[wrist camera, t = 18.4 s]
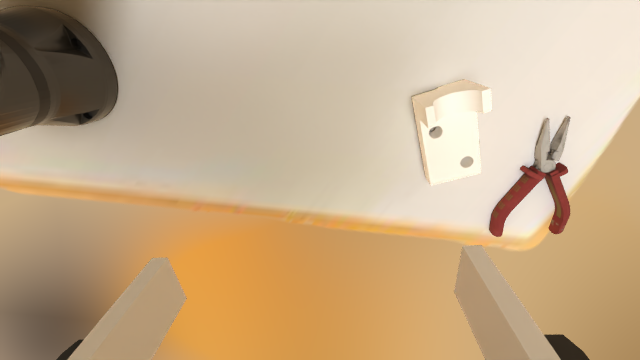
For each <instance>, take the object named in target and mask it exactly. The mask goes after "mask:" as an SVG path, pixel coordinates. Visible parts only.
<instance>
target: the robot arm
mask: <svg viewBox="0 0 640 360" xmlns="http://www.w3.org/2000/svg"><path fill="white" fill-rule="evenodd" d="M116 98H117V79H116V75H115V71H114V68H113V66H112V63H111V61H110V59H109V57H108V55H107V53H106V52H105V50H104V49H103V47H102V46H101V44H100V43H99V42H98V40H97V39H96V38H95V37H94V36H93V35H92V34H91V33H90V32H89V31H88V30H87V29H86V28H85V27H84V26H82V25H81V24H80V23H79V22H77V21H76V20H74V19H73V18H71V17H69V16H67V15H66V14H63V13H61V12H59V11H56V10H53V9H49V8H43V7H33V6H15V7H10V8H7V9H3V10H0V136H2V135H5V134H8V133H11V132H15V131H18V130H21V129H24V128H27V127H31V126H34V125H57V126H78V125H84V124H88V123H91V122H94V121H97V120H99V119H101V118H103V117H105V116H106V115H107V114H108V113H109V112H110V111H111V110H112V108H113V106H114V104H115V102H116ZM454 292H455V295H456V297H457V299H458V301H459V303H460V305H461V308H462V310H463V312H464V314H465V316H466V319H467V321H468V323H469V325H470V327H471V329H472V332H473V334H474V336H475V338H476V340H477V343H478V345H479V347H480V349H481V351H482V353H483V356H484V358H485V360H589V358H588V357H587V356H586V355H585V353H584V352H583V351H582V350H581V349H580V348H578V347H577V346H576V345H575V344H574V343H572V342H571V341H570V340H569V339H568V338H566V337H565V336H564V335H543V333H542V332H541V330H540V329H539V327H538V326H537V324H536V323H535V322H534V320H533V319H532V318H531V316H530V314H529V313H528V312H527V310H526V309H525V307H524V306H523V304H522V303H521V301H520V300H519V299H518V297H517V296H516V294H515V293H514V291H513V290H512V289H511V287H510V286H509V284H508V283H507V281H506V280H505V278H504V277H503V276H502V274H501V273H500V271H499V270H498V268H497V267H496V265H495V264H494V262H493V261H492V260H491V258H490V257H489V255H488V254H487V252H486V251H485V249H484V248H483V247H482V245H474V246H462V251H461V256H460V262H459V268H458V273H457V279H456V285H455V290H454ZM186 299H187V298H186V296H185V294H184V291H183V289H182V287H181V285H180V283H179V281H178V279H177V277H176V274H175V272H174V270H173V268H172V266H171V264H170V262H169V260H168V258H152V259H151V260H150V261H149V262H148V264H147V265H146V266H145V267H144V269H143V270H142V271H141V272H140V273H139V274H138V276H137V277H136V278H135V279H134V281H133V282H132V283H131V284H130V285H129V286H128V288H127V289H126V290H125V291H124V292H123V294H122V295H121V296H120V297H119V298H118V300H117V301H116V302H115V303H114V304H113V306H112V307H111V308H110V309H109V310H108V312H107V313H106V314H105V315H104V317H103V318H102V319H101V320H100V321H99V322H98V324H97V325H96V326H95V327H94V328H93V330H92V331H91V332H90V333H89V334H88V335H87V337H86V338H85V339H84V340H78V341H77V342H75V343H74V344H73V345H72V346H71V347H69V348H68V349H67V350H66V351H64V352H63V353H62V354H61V355H60V356H59V357H58V359H57V360H151V359H152V358H153V356H154V354H155V353H156V351H157V349H158V347H159V346H160V344H161V342H162V340H163V339H164V337H165V335H166V333H167V332H168V330H169V328H170V326H171V325H172V323H173V321H174V319H175V318H176V316H177V314H178V313H179V311H180V309H181V307H182V306H183V304H184V302H185V300H186Z"/></svg>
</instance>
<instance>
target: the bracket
mask: <svg viewBox="0 0 640 360" xmlns="http://www.w3.org/2000/svg"><path fill="white" fill-rule="evenodd" d="M412 102H413V108H414V113H415V119H416V125H417V131H418V136H419V142H420V148H421V153H422V159H423V165H424V170H425V176H426V179H427V180H428V182H429V184H430V185H435V184H439V183H443V182H447V181H451V180H455V179H459V178H464V177H468V176H472V175H476V174H480V173H481V163H480V149H479V135H478V122H477V112H481V113H486V112H490V111H492V102H491V88H488V87H485V86H482V85H479V84H476V83H473V82H470V81H468V80H465V79H463V80H460V81H457V82H453V83H450V84H447V85H444V86H440V87H437V89H435V90H432V91H429V92H425V93H422V94H419V95H416V96H412ZM433 127H436V129H435V130H434V131H433V132H430V133H429V131H430V129H431V128H433Z"/></svg>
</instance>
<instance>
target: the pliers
mask: <svg viewBox="0 0 640 360" xmlns="http://www.w3.org/2000/svg"><path fill="white" fill-rule="evenodd" d="M569 121H570V117H569V116H568V117H567V118H566V120H565V121H564V123H563V124H562V126H561V128H560V129H559V131H558V132H557V134H556V135H555V137H554V139H553V140H552V142H551V144H550V131H549V119H548V118H547V119H546V122H545V124H544V127H543V130H542V132H541V135H540V138H539V140H538V143H537V146H536V149H535V155H534V158H536V161H535V162H534V164H533V166H531V167H530V168H527V167H525V166H522V167H521V168H520V170H522V171H523V172H525V174H524V175H523V176H522V177H521V178H520V179H519V181H518V182H517V183H516V184H515V185H514V186H513V187H512V188H511V189H510V191H509V192H508V193H507V194H506V195H505V196H504V197H503V198H502V199H501V201H500V202H499V203H498V204H497V206H496V207H495V209H494V210H493V213H492V216H491V222H490V232H491V233H492V234H493V235H494V236H496V237H500V236H501V235H502V232H503V228H504V223H505V220H506V218H507V216H508V215H509V214H510V212H511V211H512V210H513V209H514V208H515V207H516V206H517V205H518V204H519V203H520V202H521V201H522V200H523V198H524V197H525V196H526V195H527V194H528V193H529V192H530V191H531V190H532V189H533V188H534V187H535V186H536V185H537V184H538V183H539V182H540V181H541V180H542V179H543V178H544V177H545V179H546V182H547V184H548V187H549V189H550V192H551V194H552V197H553V199H554V203H555V212H554V215H553V218H552V221H551V223H550V226H549V230H550V231H551V232H552V233H554V234H559V233H561V232H562V231H563V230H564V227H565V225H566V223H567V221H568V219H569V216H570V205H569V201H568V199H567V196H566V193H565V190H564V188H563V185H562V182H561V180H560V176H562V175H564V174H566V173H568V169H567V167H566V166H564V165H563V164H561V163H557V164H556V163H555V162H554V161H559V159H560V157H561V155H562V152H563V150H564V145H565V140H566V135H567V130H568V126H569ZM550 148H551V153H550V154H549V155H548V152H549V150H550Z"/></svg>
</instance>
